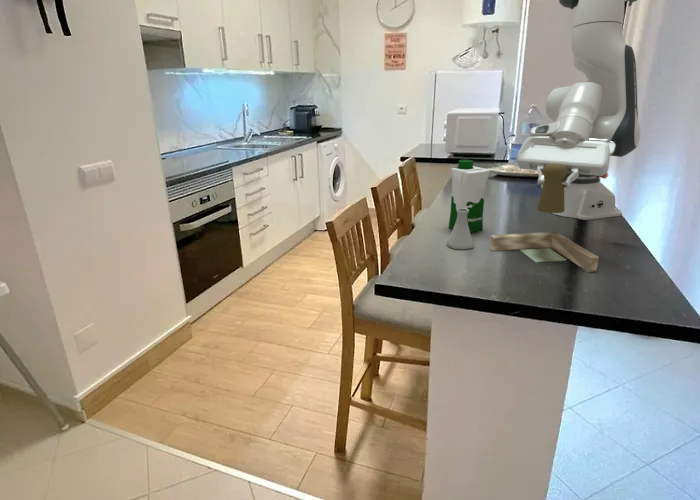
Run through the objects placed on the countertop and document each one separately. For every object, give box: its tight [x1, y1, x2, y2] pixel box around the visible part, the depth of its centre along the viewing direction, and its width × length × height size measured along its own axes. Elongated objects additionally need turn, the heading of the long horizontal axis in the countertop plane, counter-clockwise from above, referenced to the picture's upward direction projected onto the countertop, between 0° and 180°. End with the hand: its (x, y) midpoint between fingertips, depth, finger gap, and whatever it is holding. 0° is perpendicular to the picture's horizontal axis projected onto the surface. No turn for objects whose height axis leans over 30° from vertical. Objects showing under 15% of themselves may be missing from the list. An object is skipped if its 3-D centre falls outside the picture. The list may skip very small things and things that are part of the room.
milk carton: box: [447, 159, 491, 235], centre depth 128 cm, size 9×9×20 cm
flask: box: [446, 208, 474, 250], centre depth 118 cm, size 7×7×10 cm
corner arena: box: [489, 231, 600, 273], centre depth 110 cm, size 18×18×4 cm
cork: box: [537, 163, 568, 214], centre depth 106 cm, size 6×6×11 cm
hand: (552, 184), depth 105 cm, fingers closed on cork, 4 cm apart
